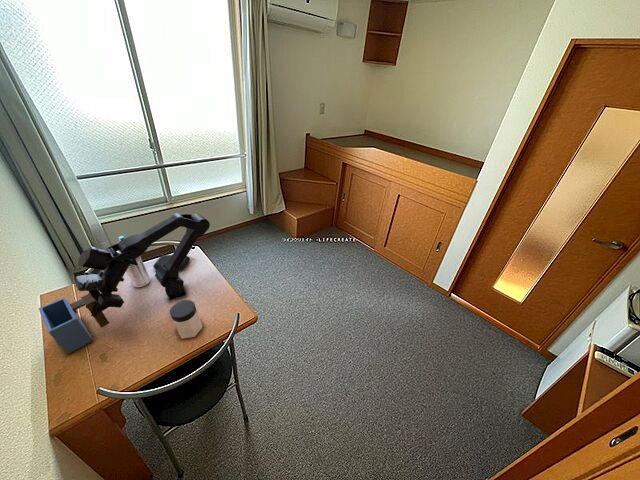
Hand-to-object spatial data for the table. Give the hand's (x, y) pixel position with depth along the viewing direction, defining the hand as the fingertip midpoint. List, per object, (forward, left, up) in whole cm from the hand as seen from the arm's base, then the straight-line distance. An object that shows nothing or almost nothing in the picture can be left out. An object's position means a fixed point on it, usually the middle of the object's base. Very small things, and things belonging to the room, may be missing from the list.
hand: (90, 311), depth 87 cm
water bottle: (-13, -23, -11) cm, 28 cm away
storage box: (+8, -3, -11) cm, 14 cm away
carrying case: (-26, -30, -11) cm, 41 cm away
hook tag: (0, 0, -7) cm, 7 cm away
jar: (-28, +13, -11) cm, 33 cm away
